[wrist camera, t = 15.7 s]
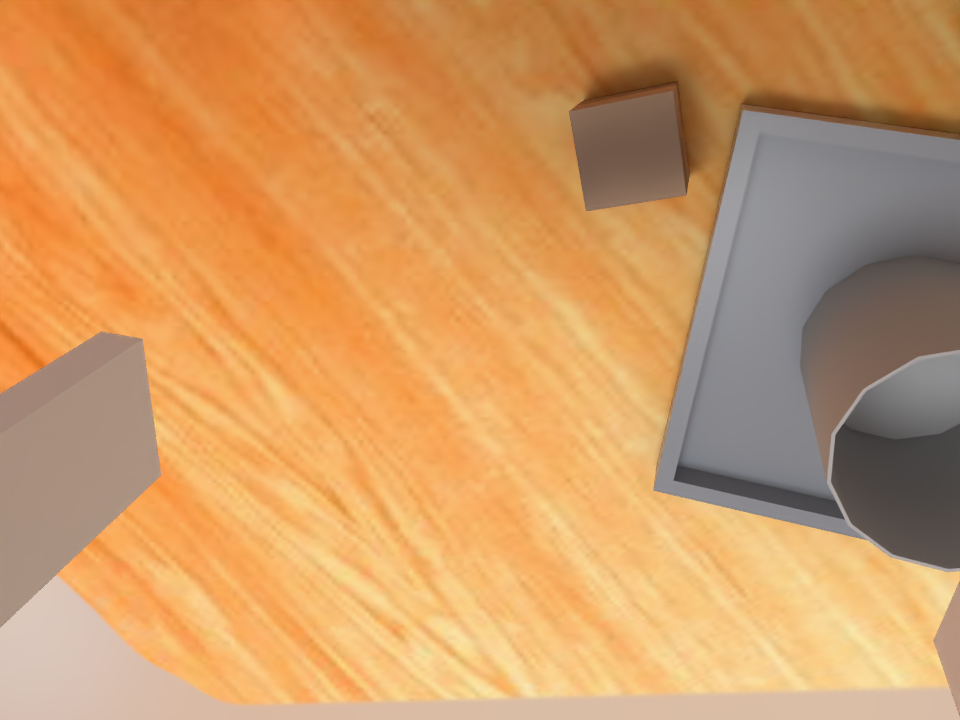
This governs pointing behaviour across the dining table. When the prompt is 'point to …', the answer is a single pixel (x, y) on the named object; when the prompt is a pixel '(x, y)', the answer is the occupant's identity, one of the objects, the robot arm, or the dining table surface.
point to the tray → (792, 296)
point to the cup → (891, 404)
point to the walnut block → (631, 147)
